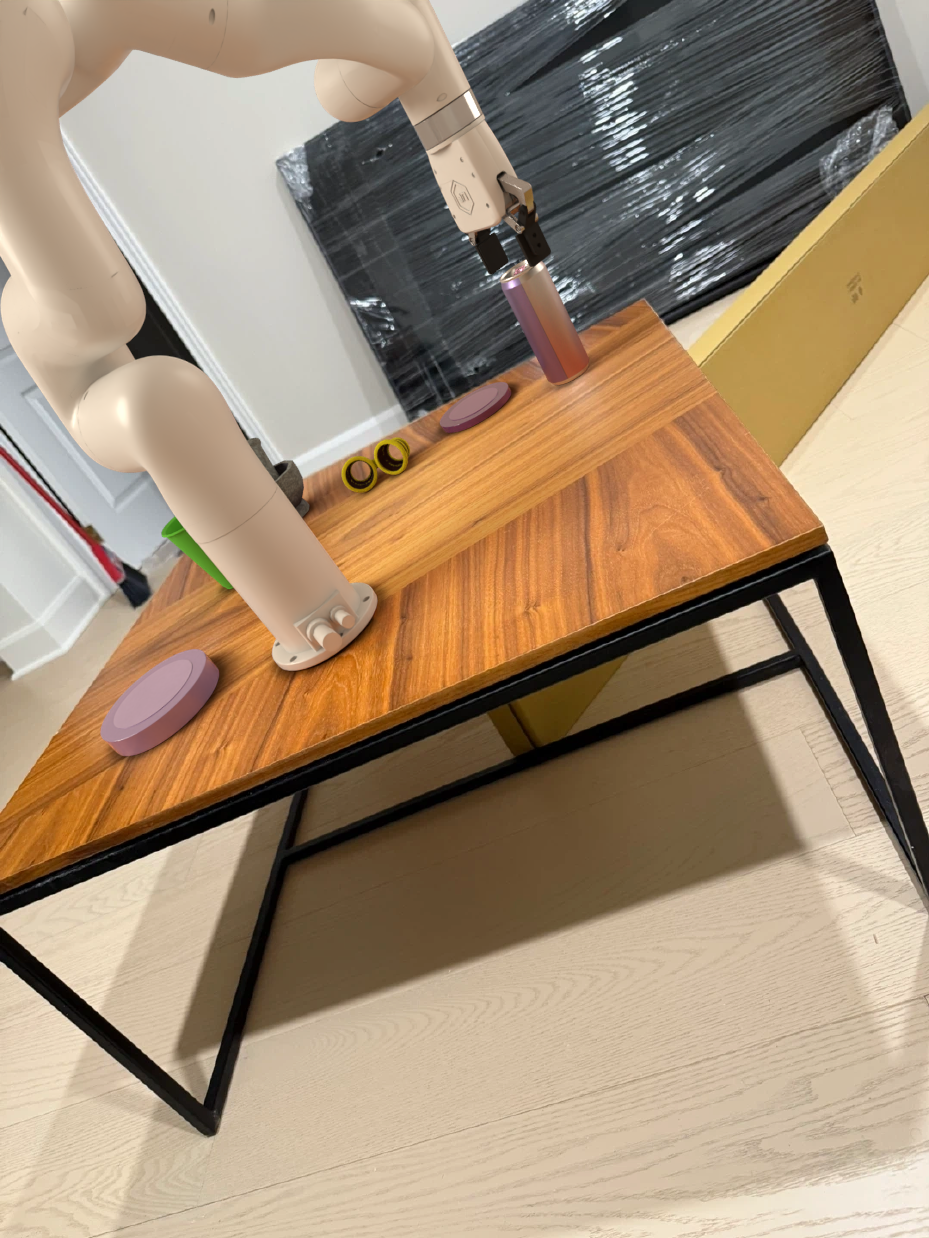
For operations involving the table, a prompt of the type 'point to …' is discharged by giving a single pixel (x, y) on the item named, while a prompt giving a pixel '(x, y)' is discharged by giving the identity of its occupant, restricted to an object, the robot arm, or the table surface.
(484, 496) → the table surface
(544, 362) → the beverage can
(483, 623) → the table surface
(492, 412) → the plum dish
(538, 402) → the table surface
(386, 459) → the opera glasses
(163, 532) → the cup
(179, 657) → the lavender dish
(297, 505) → the mortar and pestle
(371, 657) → the table surface
